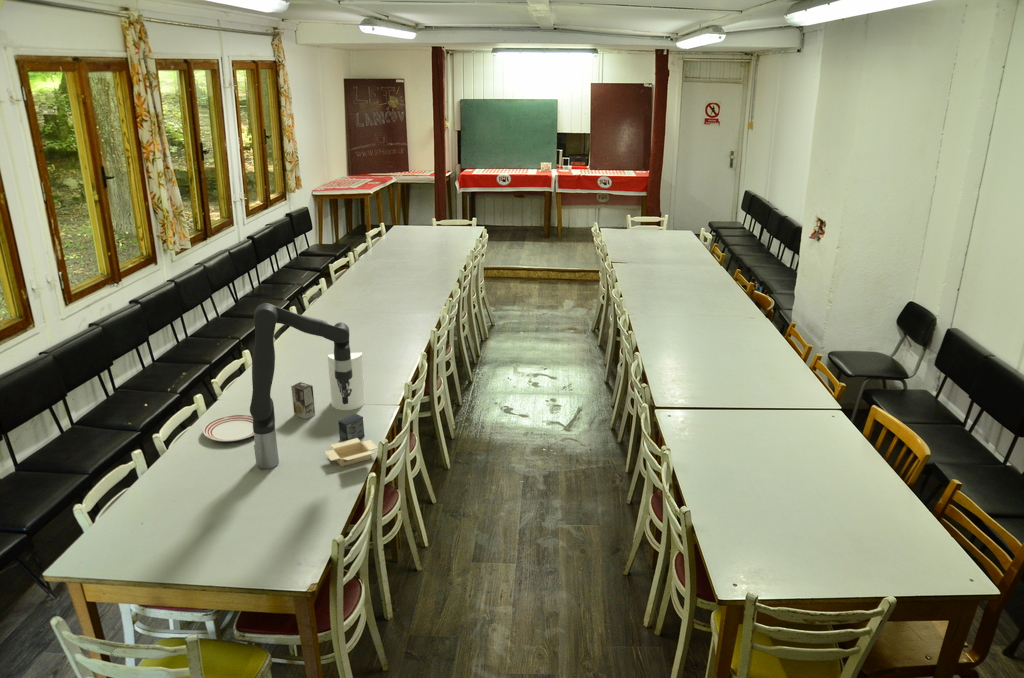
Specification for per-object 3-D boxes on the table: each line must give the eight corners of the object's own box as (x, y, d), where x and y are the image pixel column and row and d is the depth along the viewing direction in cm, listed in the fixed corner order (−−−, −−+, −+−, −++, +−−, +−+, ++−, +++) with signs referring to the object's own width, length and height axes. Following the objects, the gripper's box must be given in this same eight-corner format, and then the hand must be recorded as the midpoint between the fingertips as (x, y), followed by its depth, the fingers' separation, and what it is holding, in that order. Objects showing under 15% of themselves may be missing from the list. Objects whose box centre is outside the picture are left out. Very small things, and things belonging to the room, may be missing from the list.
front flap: (341, 459, 338) (348, 460, 330) (341, 458, 338) (347, 459, 330) (369, 451, 344) (376, 453, 336) (369, 451, 344) (375, 452, 336)
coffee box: (315, 414, 386) (313, 385, 380) (306, 419, 381) (303, 390, 375) (303, 409, 391) (300, 381, 385) (293, 414, 386) (290, 385, 380)
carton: (332, 469, 337) (331, 461, 336) (321, 455, 348) (320, 447, 347) (378, 456, 348) (378, 448, 347) (367, 443, 360) (366, 435, 358)
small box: (356, 431, 370) (355, 412, 366) (365, 436, 366) (363, 416, 363) (338, 439, 363) (337, 420, 359) (347, 444, 359) (346, 424, 355)
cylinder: (365, 408, 393) (362, 358, 383) (331, 411, 390) (327, 361, 380) (364, 394, 409) (361, 346, 399) (331, 396, 406) (327, 348, 395)
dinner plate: (263, 416, 384) (262, 410, 383) (264, 441, 360) (263, 435, 359) (205, 423, 376) (204, 417, 375) (202, 450, 352) (201, 443, 351)
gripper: (329, 364, 336) (332, 399, 342) (340, 374, 325) (342, 411, 332) (346, 361, 339) (348, 396, 346) (356, 371, 329) (358, 407, 335)
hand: (345, 403), depth 339 cm, fingers closed
